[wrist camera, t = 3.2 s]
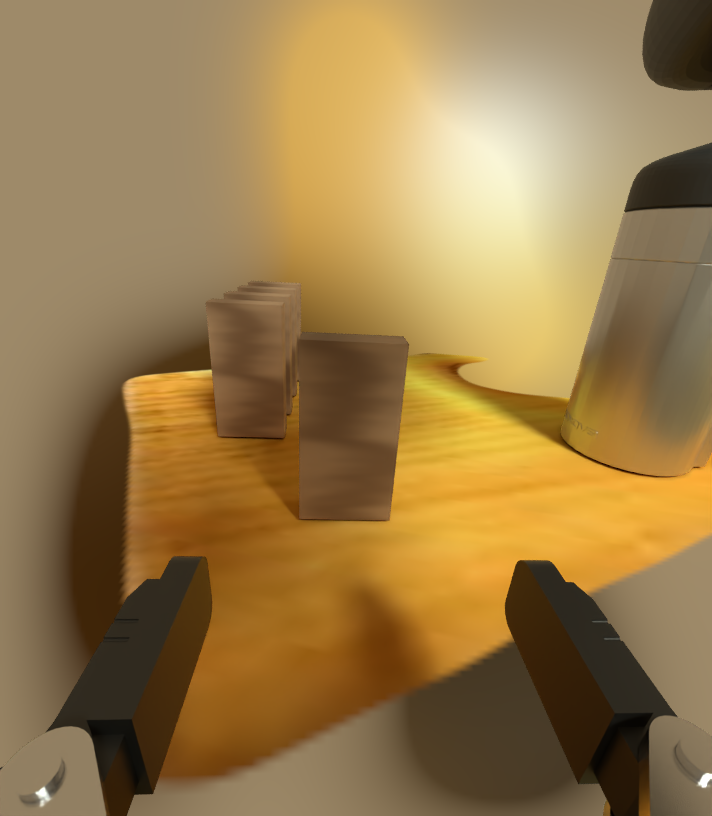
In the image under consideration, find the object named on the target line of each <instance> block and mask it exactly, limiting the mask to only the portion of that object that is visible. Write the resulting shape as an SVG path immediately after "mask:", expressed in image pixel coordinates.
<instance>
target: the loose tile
mask: <svg viewBox="0 0 712 816" xmlns="http://www.w3.org/2000/svg"><path fill="white" fill-rule="evenodd" d="M408 348H409V344H408V342H407V341H406V339H405V338H404V337H403V336H402V337H400V336H381V335H358V334H336V333H316V332H302V334H301V336H300V338H299V519H334V520H390V511H391V502H392V493H393V484H394V475H395V466H396V457H397V448H398V439H399V430H400V421H401V412H402V403H403V394H404V385H405V376H406V367H407V358H408Z"/></svg>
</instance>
